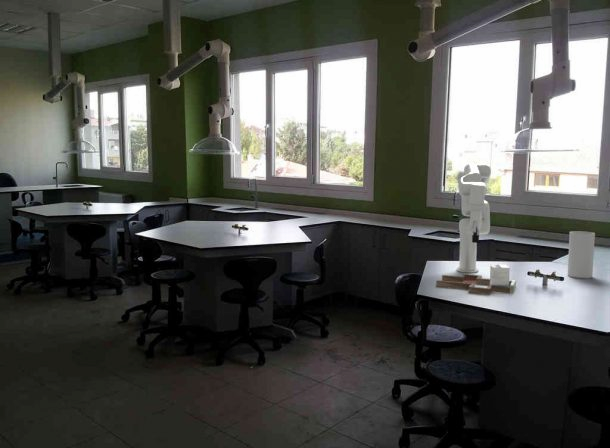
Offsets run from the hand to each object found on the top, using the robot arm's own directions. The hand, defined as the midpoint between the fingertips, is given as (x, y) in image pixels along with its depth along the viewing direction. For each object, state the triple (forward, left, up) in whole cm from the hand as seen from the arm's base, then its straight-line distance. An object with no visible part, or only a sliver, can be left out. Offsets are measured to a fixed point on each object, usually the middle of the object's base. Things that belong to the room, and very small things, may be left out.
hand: (475, 242), depth 275 cm
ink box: (+3, +13, -23) cm, 26 cm away
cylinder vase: (-47, +51, -23) cm, 73 cm away
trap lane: (+4, +1, -23) cm, 23 cm away
